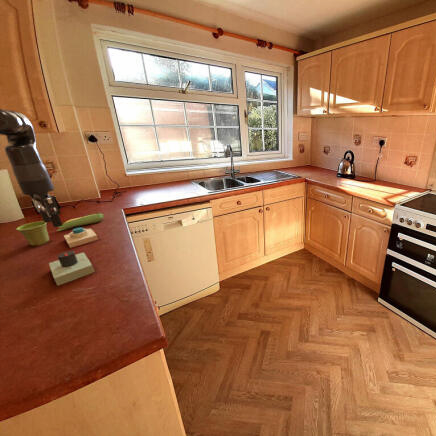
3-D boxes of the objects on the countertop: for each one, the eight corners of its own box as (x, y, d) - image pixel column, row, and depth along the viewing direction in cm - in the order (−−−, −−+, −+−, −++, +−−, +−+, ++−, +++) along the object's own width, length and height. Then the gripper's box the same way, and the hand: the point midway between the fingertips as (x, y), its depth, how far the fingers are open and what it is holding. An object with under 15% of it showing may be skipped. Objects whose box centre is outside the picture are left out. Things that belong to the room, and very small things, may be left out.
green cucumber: (106, 221, 131) (103, 213, 130) (56, 233, 118) (53, 224, 117) (104, 218, 135) (101, 211, 133) (56, 230, 122) (52, 221, 120)
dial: (60, 264, 86) (56, 253, 84) (76, 259, 89) (72, 248, 87) (62, 268, 83) (57, 258, 81) (79, 263, 86) (74, 252, 84)
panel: (51, 270, 88) (48, 262, 87) (86, 258, 95) (83, 251, 94) (57, 285, 79) (53, 277, 78) (94, 272, 86) (91, 264, 85)
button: (73, 232, 109) (71, 229, 109) (83, 230, 112) (81, 226, 111) (74, 235, 107) (73, 231, 106) (84, 232, 110) (83, 228, 109)
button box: (65, 239, 111) (62, 231, 110) (92, 232, 118) (89, 224, 116) (70, 247, 104) (66, 239, 102) (98, 239, 111) (95, 231, 109)
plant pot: (29, 250, 103) (19, 231, 100) (22, 245, 107) (13, 227, 104) (57, 241, 110) (49, 223, 107) (50, 236, 115) (42, 219, 112)
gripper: (10, 178, 78) (32, 224, 84) (24, 182, 71) (47, 232, 77) (41, 173, 84) (59, 217, 90) (56, 177, 77) (75, 224, 83)
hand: (53, 224), depth 84 cm, fingers open, 8 cm apart
